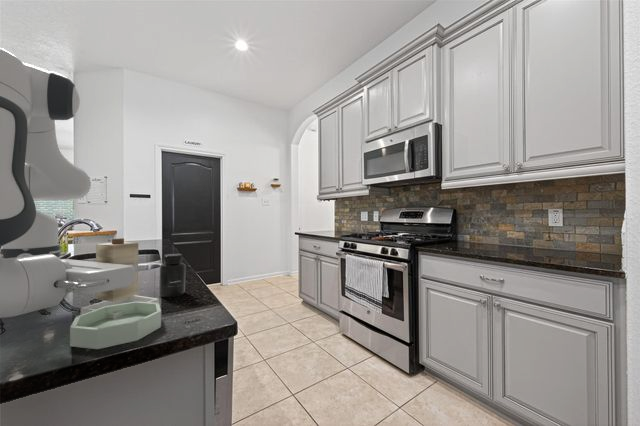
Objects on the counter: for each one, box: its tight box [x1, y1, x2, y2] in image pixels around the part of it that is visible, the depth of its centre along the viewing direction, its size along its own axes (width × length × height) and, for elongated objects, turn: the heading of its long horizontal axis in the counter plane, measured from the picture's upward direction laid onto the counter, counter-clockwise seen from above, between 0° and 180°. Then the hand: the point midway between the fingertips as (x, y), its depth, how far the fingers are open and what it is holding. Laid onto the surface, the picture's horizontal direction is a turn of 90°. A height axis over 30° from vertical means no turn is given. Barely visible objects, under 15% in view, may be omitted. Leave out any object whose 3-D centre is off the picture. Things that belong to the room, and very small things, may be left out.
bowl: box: [69, 301, 162, 350], centre depth 55 cm, size 14×14×4 cm
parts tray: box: [80, 295, 160, 319], centre depth 66 cm, size 11×11×2 cm
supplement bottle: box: [158, 253, 186, 299], centre depth 79 cm, size 7×7×12 cm
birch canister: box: [95, 237, 139, 302], centre depth 55 cm, size 5×5×12 cm
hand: (124, 266), depth 56 cm, fingers closed on birch canister, 5 cm apart
